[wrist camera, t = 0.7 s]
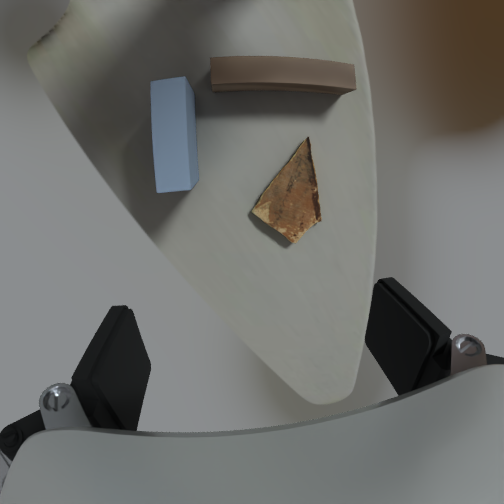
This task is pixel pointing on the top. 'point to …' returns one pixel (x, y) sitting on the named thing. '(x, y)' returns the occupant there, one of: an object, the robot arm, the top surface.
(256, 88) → the bar
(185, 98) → the block
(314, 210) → the shard
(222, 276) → the top surface
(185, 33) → the top surface
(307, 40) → the top surface
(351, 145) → the top surface
